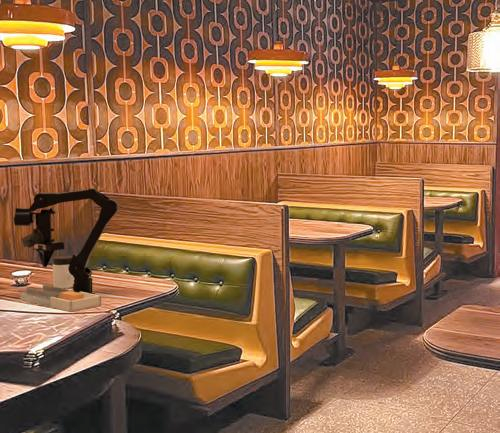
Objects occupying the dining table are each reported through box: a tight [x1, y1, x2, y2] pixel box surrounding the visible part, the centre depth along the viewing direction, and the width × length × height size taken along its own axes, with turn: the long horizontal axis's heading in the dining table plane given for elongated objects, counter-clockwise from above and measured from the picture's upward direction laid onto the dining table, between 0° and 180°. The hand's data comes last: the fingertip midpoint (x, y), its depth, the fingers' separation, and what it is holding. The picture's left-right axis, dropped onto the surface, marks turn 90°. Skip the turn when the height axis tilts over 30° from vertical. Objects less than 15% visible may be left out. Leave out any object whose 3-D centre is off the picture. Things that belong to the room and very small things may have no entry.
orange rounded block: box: [60, 290, 76, 300], centre depth 250 cm, size 4×4×4 cm
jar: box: [52, 255, 74, 289], centre depth 284 cm, size 9×8×12 cm
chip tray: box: [49, 292, 102, 313], centre depth 248 cm, size 13×12×4 cm
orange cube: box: [67, 292, 84, 301], centre depth 248 cm, size 4×4×4 cm
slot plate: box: [20, 284, 75, 308], centre depth 258 cm, size 13×19×4 cm
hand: (44, 266), depth 265 cm, fingers closed
